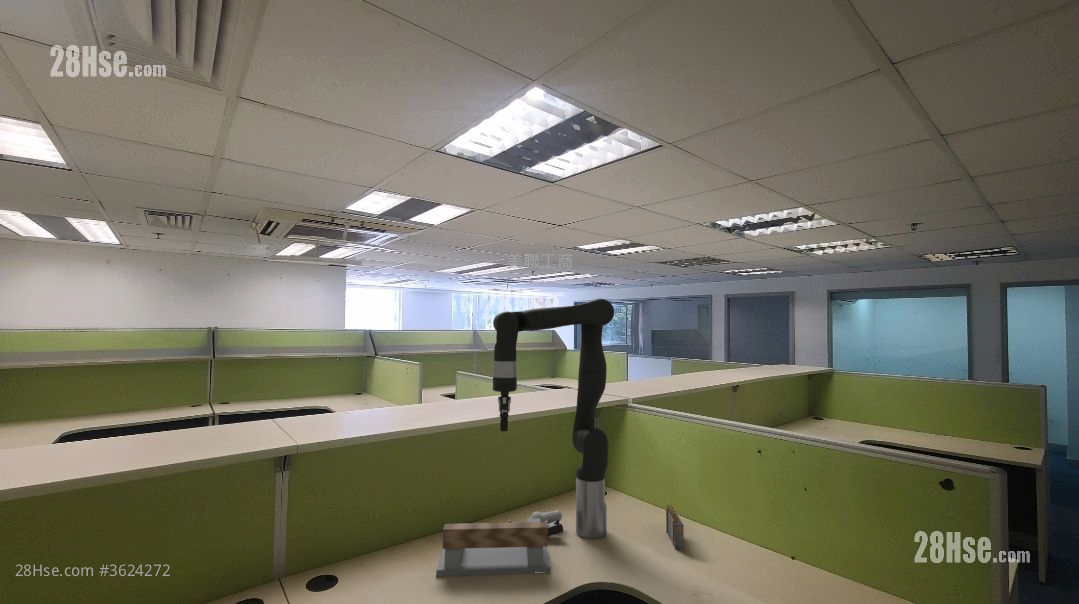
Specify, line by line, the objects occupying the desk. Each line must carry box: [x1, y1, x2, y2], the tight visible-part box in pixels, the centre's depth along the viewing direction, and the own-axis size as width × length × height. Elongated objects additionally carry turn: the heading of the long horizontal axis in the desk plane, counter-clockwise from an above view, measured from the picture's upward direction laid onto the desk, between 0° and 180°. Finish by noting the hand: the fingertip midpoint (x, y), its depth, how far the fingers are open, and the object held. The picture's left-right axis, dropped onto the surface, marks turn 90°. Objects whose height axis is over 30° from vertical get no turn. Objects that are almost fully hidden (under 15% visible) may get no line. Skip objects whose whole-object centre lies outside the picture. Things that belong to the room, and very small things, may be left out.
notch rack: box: [435, 518, 552, 577], centre depth 122 cm, size 30×13×9 cm, turn 94°
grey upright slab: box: [664, 502, 685, 551], centre depth 135 cm, size 11×3×10 cm, turn 176°
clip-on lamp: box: [507, 509, 564, 537], centre depth 140 cm, size 12×6×18 cm
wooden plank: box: [442, 521, 549, 550], centre depth 119 cm, size 28×4×5 cm, turn 94°
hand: (504, 428), depth 136 cm, fingers open, 8 cm apart
